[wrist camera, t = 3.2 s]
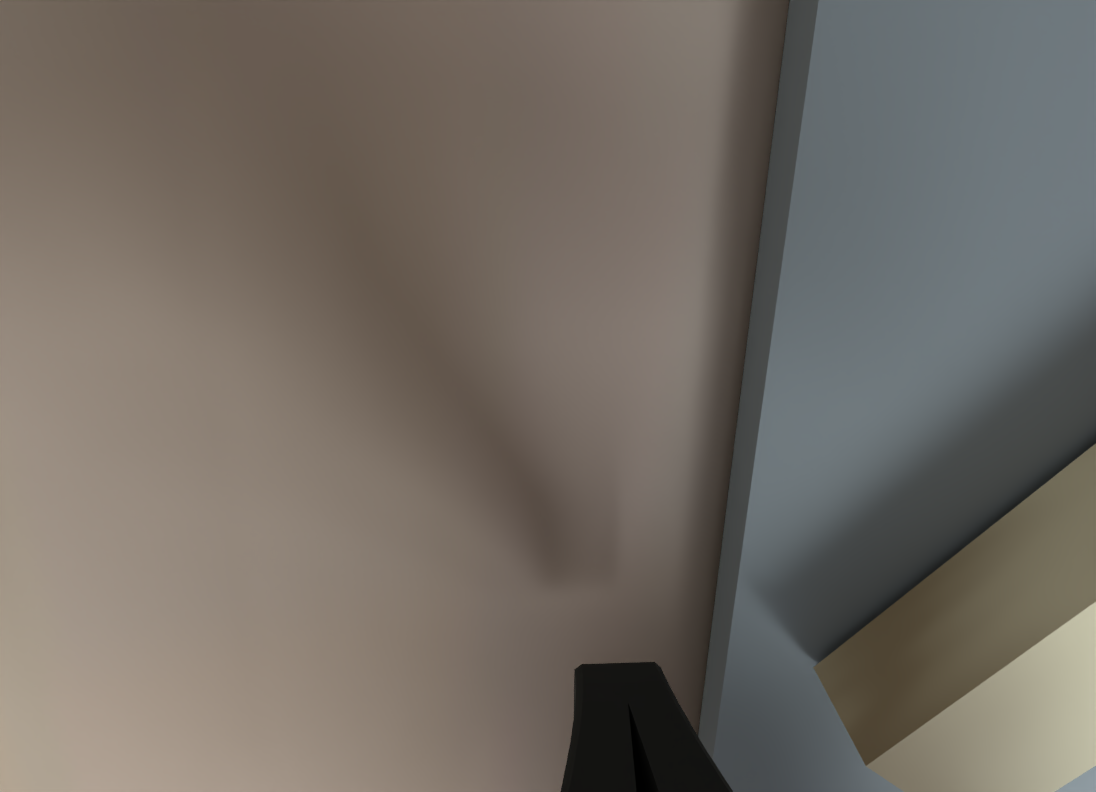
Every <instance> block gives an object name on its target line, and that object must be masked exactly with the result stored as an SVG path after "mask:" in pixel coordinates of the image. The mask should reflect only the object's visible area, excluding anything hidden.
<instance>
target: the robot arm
mask: <svg viewBox="0 0 1096 792" xmlns="http://www.w3.org/2000/svg"><path fill="white" fill-rule="evenodd" d="M561 792H733V790H732V789H731V787H730V786H729V784H728V783H727V781H726V780H725V778H724V777H723V775H722V774H721V772H720V771H719V769H718V767H717V766H716V764H715V763H714V761H713V760H712V758H711V757H710V755H709V754H708V752H707V750H706V749H705V747H704V746H703V744H702V742H701V741H700V739H699V737H698V736H697V734H696V732H695V731H694V729H693V727H692V726H691V724H690V722H689V720H688V719H687V717H686V715H685V714H684V712H683V710H682V708H681V706H680V705H679V703H678V701H677V699H676V697H675V695H674V693H673V692H672V690H671V688H670V686H669V684H668V682H667V680H666V678H665V676H664V674H663V672H662V669H661V667H660V666H658V665H657V664H656V663H655V662H640V663H608V664H581V665H580V666H579V667H578V668H576V669H575V677H574V721H573V729H572V736H571V743H570V748H569V753H568V758H567V763H566V769H565V774H564V779H563V784H562V788H561Z"/></svg>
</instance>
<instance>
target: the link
mask: <svg viewBox="0 0 1096 792" xmlns="http://www.w3.org/2000/svg"><path fill="white" fill-rule="evenodd" d="M813 668H814V670H815V672H816V674H817V675H818V677H819V679H820V681H821V683H822V685H823V687H824V689H825V690H826V692H827V694H828V696H829V698H830V700H831V702H832V704H833V705H834V707H835V709H836V711H837V713H838V715H839V717H840V719H841V720H842V722H843V724H844V726H845V728H846V730H847V732H848V734H849V736H850V737H851V739H852V741H853V743H854V745H855V747H856V749H857V751H858V752H859V754H860V756H861V758H862V760H863V762H864V764H865V766H866V767H868V768H869V769H871V770H872V771H874V772H875V773H877V774H878V775H880V776H881V777H883V778H884V779H886V780H887V781H889V782H890V783H892V784H893V785H895V786H896V787H898V788H899V789H901V790H902V791H904V792H1055V791H1057V790H1058V789H1060V788H1061V787H1063V786H1064V785H1066V784H1068V783H1069V782H1071V781H1072V780H1074V779H1075V778H1077V777H1079V776H1080V775H1082V774H1083V773H1085V772H1086V771H1088V770H1090V769H1091V768H1093V767H1094V766H1096V444H1094V445H1093V446H1092V447H1091V448H1089V449H1088V450H1087V451H1086V452H1084V453H1083V454H1082V455H1080V456H1079V457H1078V458H1077V459H1075V460H1074V461H1073V462H1072V463H1070V464H1069V465H1068V466H1067V467H1065V468H1064V469H1063V470H1062V471H1060V472H1059V473H1058V474H1057V475H1055V476H1054V477H1053V478H1051V479H1050V480H1049V481H1048V482H1046V483H1045V484H1044V485H1043V486H1041V487H1040V488H1039V489H1038V490H1036V491H1035V492H1034V493H1033V494H1031V495H1030V496H1029V497H1028V498H1026V499H1025V500H1024V501H1022V502H1021V503H1020V504H1019V505H1017V506H1016V507H1015V508H1014V509H1012V510H1011V511H1010V512H1009V513H1007V514H1006V515H1005V516H1004V517H1002V518H1001V519H1000V520H999V521H997V522H996V523H995V524H993V525H992V526H991V527H990V528H988V529H987V530H986V531H985V532H983V533H982V534H981V535H980V536H978V537H977V538H976V539H975V540H973V541H972V542H971V543H970V544H968V545H967V546H966V547H964V548H963V549H962V550H961V551H959V552H958V553H957V554H956V555H954V556H953V557H952V558H951V559H949V560H948V561H947V562H946V563H944V564H943V565H942V566H941V567H939V568H938V569H937V570H935V571H934V572H933V573H932V574H930V575H929V576H928V577H927V578H925V579H924V580H923V581H922V582H920V583H919V584H918V585H917V586H915V587H914V588H913V589H912V590H910V591H909V592H908V593H906V594H905V595H904V596H903V597H901V598H900V599H899V600H898V601H896V602H895V603H894V604H893V605H891V606H890V607H889V608H888V609H886V610H885V611H884V612H883V613H881V614H880V615H879V616H877V617H876V618H875V619H874V620H872V621H871V622H870V623H869V624H867V625H866V626H865V627H864V628H862V629H861V630H860V631H859V632H857V633H856V634H855V635H854V636H852V637H851V638H850V639H848V640H847V641H846V642H845V643H843V644H842V645H841V646H840V647H838V648H837V649H836V650H835V651H833V652H832V653H831V654H830V655H828V656H827V657H826V658H825V659H823V660H822V661H821V662H819V663H818V664H817V665H816V666H814V667H813Z"/></svg>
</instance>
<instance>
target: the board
mask: <svg viewBox="0 0 1096 792" xmlns="http://www.w3.org/2000/svg"><path fill="white" fill-rule="evenodd" d="M1094 444H1096V0H790V2H789V10H788V18H787V26H786V34H785V42H784V50H783V58H782V66H781V74H780V82H779V90H778V98H777V106H776V114H775V122H774V130H773V138H772V146H771V154H770V162H769V170H768V178H767V186H766V194H765V202H764V210H763V218H762V226H761V235H760V243H759V251H758V259H757V267H756V275H755V283H754V291H753V299H752V307H751V315H750V323H749V331H748V339H747V347H746V355H745V363H744V371H743V379H742V387H741V395H740V403H739V411H738V419H737V427H736V435H735V443H734V451H733V459H732V468H731V476H730V484H729V492H728V500H727V508H726V516H725V524H724V532H723V540H722V548H721V556H720V564H719V572H718V580H717V588H716V596H715V604H714V612H713V620H712V628H711V636H710V644H709V652H708V660H707V668H706V676H705V684H704V692H703V700H702V709H701V717H700V725H699V733H698V737H699V739H700V741H701V742H702V744H703V746H704V747H705V749H706V750H707V752H708V754H709V755H710V757H711V758H712V760H713V761H714V763H715V764H716V766H717V767H718V769H719V771H720V772H721V774H722V775H723V777H724V778H725V780H726V781H727V783H728V784H729V786H730V787H731V789H732V790H733V792H904V791H902V790H901V789H899V788H898V787H896V786H895V785H893V784H892V783H890V782H889V781H887V780H886V779H884V778H883V777H881V776H880V775H878V774H877V773H875V772H874V771H872V770H871V769H869V768H868V767H866V766H865V764H864V762H863V760H862V758H861V756H860V754H859V752H858V751H857V749H856V747H855V745H854V743H853V741H852V739H851V737H850V736H849V734H848V732H847V730H846V728H845V726H844V724H843V722H842V720H841V719H840V717H839V715H838V713H837V711H836V709H835V707H834V705H833V704H832V702H831V700H830V698H829V696H828V694H827V692H826V690H825V689H824V687H823V685H822V683H821V681H820V679H819V677H818V675H817V674H816V672H815V670H814V668H813V667H814V666H816V665H817V664H818V663H819V662H821V661H822V660H823V659H825V658H826V657H827V656H828V655H830V654H831V653H832V652H833V651H835V650H836V649H837V648H838V647H840V646H841V645H842V644H843V643H845V642H846V641H847V640H848V639H850V638H851V637H852V636H854V635H855V634H856V633H857V632H859V631H860V630H861V629H862V628H864V627H865V626H866V625H867V624H869V623H870V622H871V621H872V620H874V619H875V618H876V617H877V616H879V615H880V614H881V613H883V612H884V611H885V610H886V609H888V608H889V607H890V606H891V605H893V604H894V603H895V602H896V601H898V600H899V599H900V598H901V597H903V596H904V595H905V594H906V593H908V592H909V591H910V590H912V589H913V588H914V587H915V586H917V585H918V584H919V583H920V582H922V581H923V580H924V579H925V578H927V577H928V576H929V575H930V574H932V573H933V572H934V571H935V570H937V569H938V568H939V567H941V566H942V565H943V564H944V563H946V562H947V561H948V560H949V559H951V558H952V557H953V556H954V555H956V554H957V553H958V552H959V551H961V550H962V549H963V548H964V547H966V546H967V545H968V544H970V543H971V542H972V541H973V540H975V539H976V538H977V537H978V536H980V535H981V534H982V533H983V532H985V531H986V530H987V529H988V528H990V527H991V526H992V525H993V524H995V523H996V522H997V521H999V520H1000V519H1001V518H1002V517H1004V516H1005V515H1006V514H1007V513H1009V512H1010V511H1011V510H1012V509H1014V508H1015V507H1016V506H1017V505H1019V504H1020V503H1021V502H1022V501H1024V500H1025V499H1026V498H1028V497H1029V496H1030V495H1031V494H1033V493H1034V492H1035V491H1036V490H1038V489H1039V488H1040V487H1041V486H1043V485H1044V484H1045V483H1046V482H1048V481H1049V480H1050V479H1051V478H1053V477H1054V476H1055V475H1057V474H1058V473H1059V472H1060V471H1062V470H1063V469H1064V468H1065V467H1067V466H1068V465H1069V464H1070V463H1072V462H1073V461H1074V460H1075V459H1077V458H1078V457H1079V456H1080V455H1082V454H1083V453H1084V452H1086V451H1087V450H1088V449H1089V448H1091V447H1092V446H1093V445H1094ZM1055 792H1096V766H1094V767H1093V768H1091V769H1090V770H1088V771H1086V772H1085V773H1083V774H1082V775H1080V776H1079V777H1077V778H1075V779H1074V780H1072V781H1071V782H1069V783H1068V784H1066V785H1064V786H1063V787H1061V788H1060V789H1058V790H1057V791H1055Z"/></svg>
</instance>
